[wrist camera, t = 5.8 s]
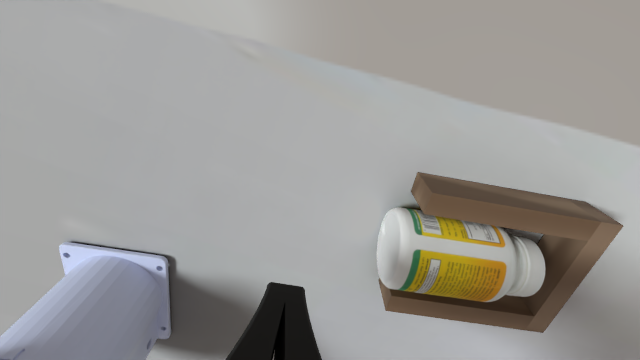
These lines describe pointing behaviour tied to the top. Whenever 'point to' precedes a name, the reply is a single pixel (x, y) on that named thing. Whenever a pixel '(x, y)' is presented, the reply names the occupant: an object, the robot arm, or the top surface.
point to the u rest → (522, 214)
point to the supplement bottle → (455, 258)
